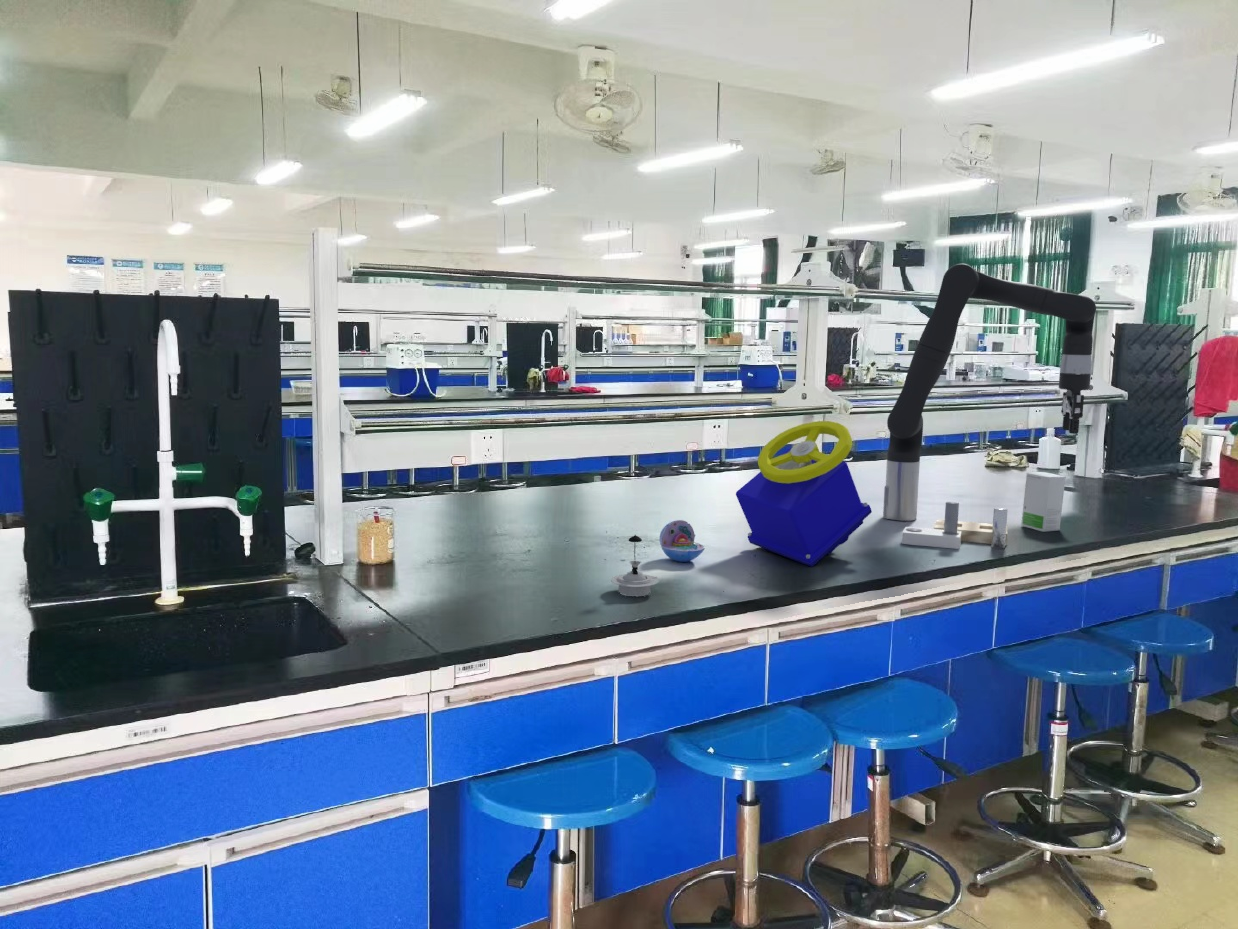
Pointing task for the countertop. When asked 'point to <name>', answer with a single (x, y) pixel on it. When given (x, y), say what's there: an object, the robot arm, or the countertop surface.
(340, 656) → the countertop surface
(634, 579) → the white domed rod stand
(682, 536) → the cell model
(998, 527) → the steel pin
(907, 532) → the block
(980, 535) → the pin board
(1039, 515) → the skincare box
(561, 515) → the countertop surface
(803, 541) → the control box
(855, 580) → the countertop surface
